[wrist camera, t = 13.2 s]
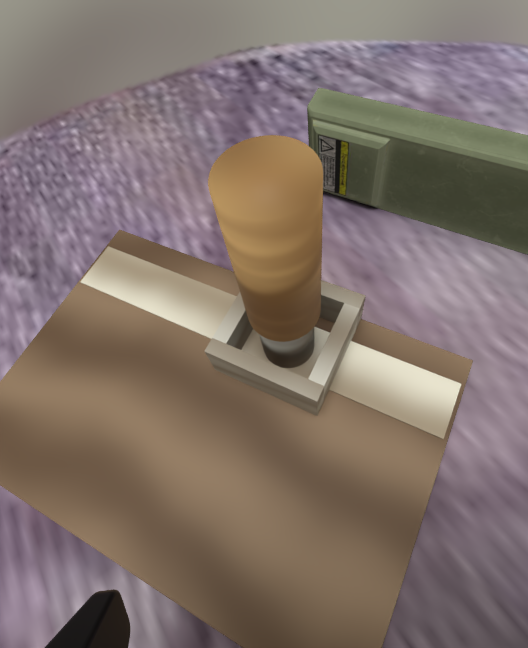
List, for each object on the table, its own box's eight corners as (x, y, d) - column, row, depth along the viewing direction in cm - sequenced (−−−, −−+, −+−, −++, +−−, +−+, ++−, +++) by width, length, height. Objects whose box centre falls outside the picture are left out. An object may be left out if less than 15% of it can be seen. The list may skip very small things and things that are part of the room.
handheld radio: (325, 162, 32) (730, 278, 24) (305, 194, 31) (722, 326, 23) (324, 78, 26) (864, 196, 18) (300, 114, 25) (863, 256, 17)
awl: (289, 386, 22) (264, 240, 11) (244, 345, 23) (185, 181, 13) (333, 342, 23) (347, 168, 12) (287, 305, 24) (265, 120, 14)
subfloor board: (354, 710, 17) (363, 754, 14) (-33, 454, 24) (-94, 439, 20) (464, 371, 23) (490, 339, 19) (128, 243, 30) (102, 203, 26)
